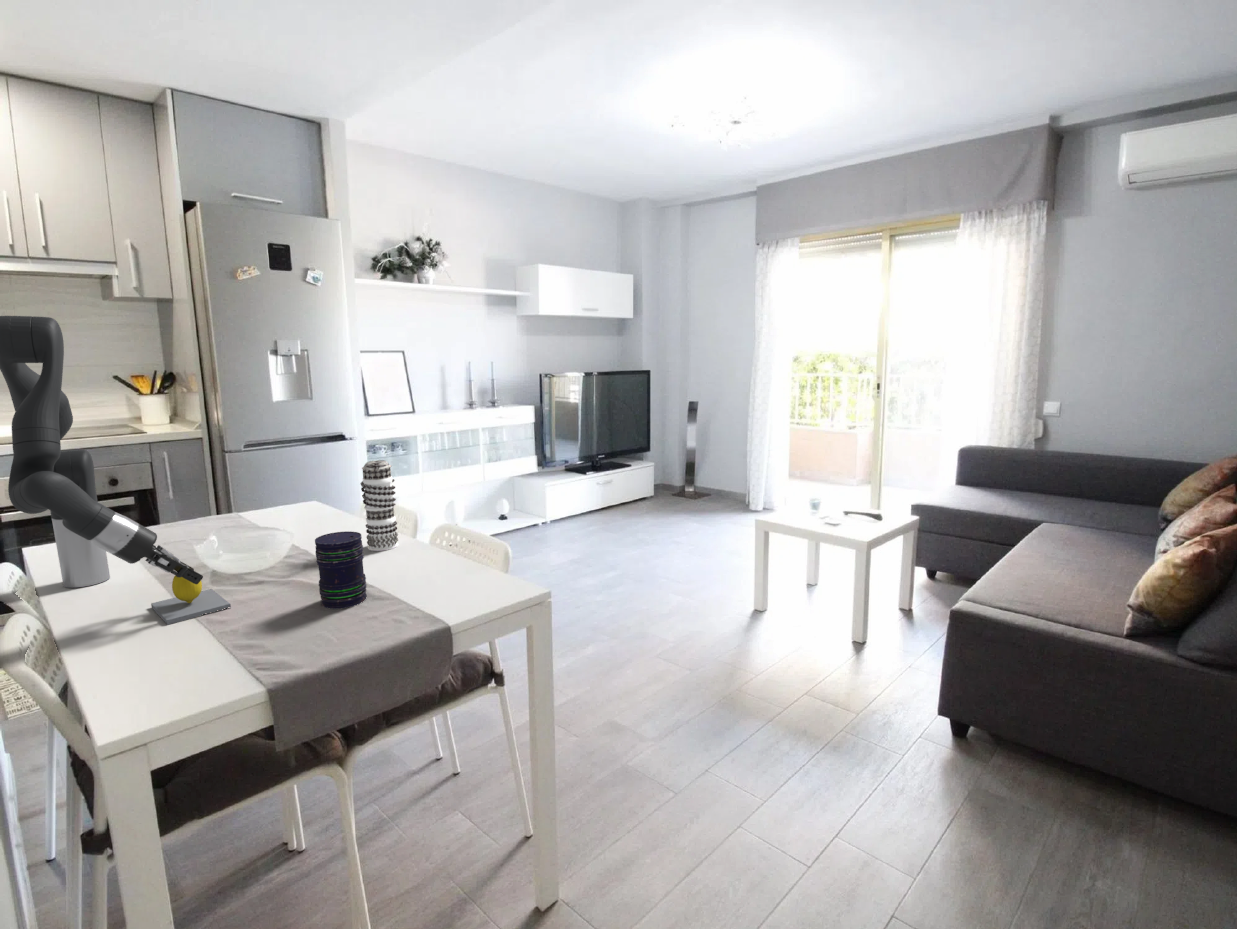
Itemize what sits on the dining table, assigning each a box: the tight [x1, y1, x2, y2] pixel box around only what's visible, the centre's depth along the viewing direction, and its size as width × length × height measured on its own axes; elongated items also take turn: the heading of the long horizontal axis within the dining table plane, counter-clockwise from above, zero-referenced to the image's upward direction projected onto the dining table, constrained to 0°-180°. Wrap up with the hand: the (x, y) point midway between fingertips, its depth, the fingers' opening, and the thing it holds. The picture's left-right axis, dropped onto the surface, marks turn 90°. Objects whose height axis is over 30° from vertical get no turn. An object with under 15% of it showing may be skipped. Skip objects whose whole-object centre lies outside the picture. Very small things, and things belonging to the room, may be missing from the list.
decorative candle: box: [359, 459, 399, 552], centre depth 188 cm, size 9×9×25 cm
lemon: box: [171, 575, 203, 603], centre depth 146 cm, size 6×6×8 cm
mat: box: [150, 588, 232, 626], centre depth 147 cm, size 14×12×1 cm
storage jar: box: [314, 530, 368, 610], centre depth 148 cm, size 10×10×15 cm
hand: (195, 576), depth 147 cm, fingers open, 6 cm apart
